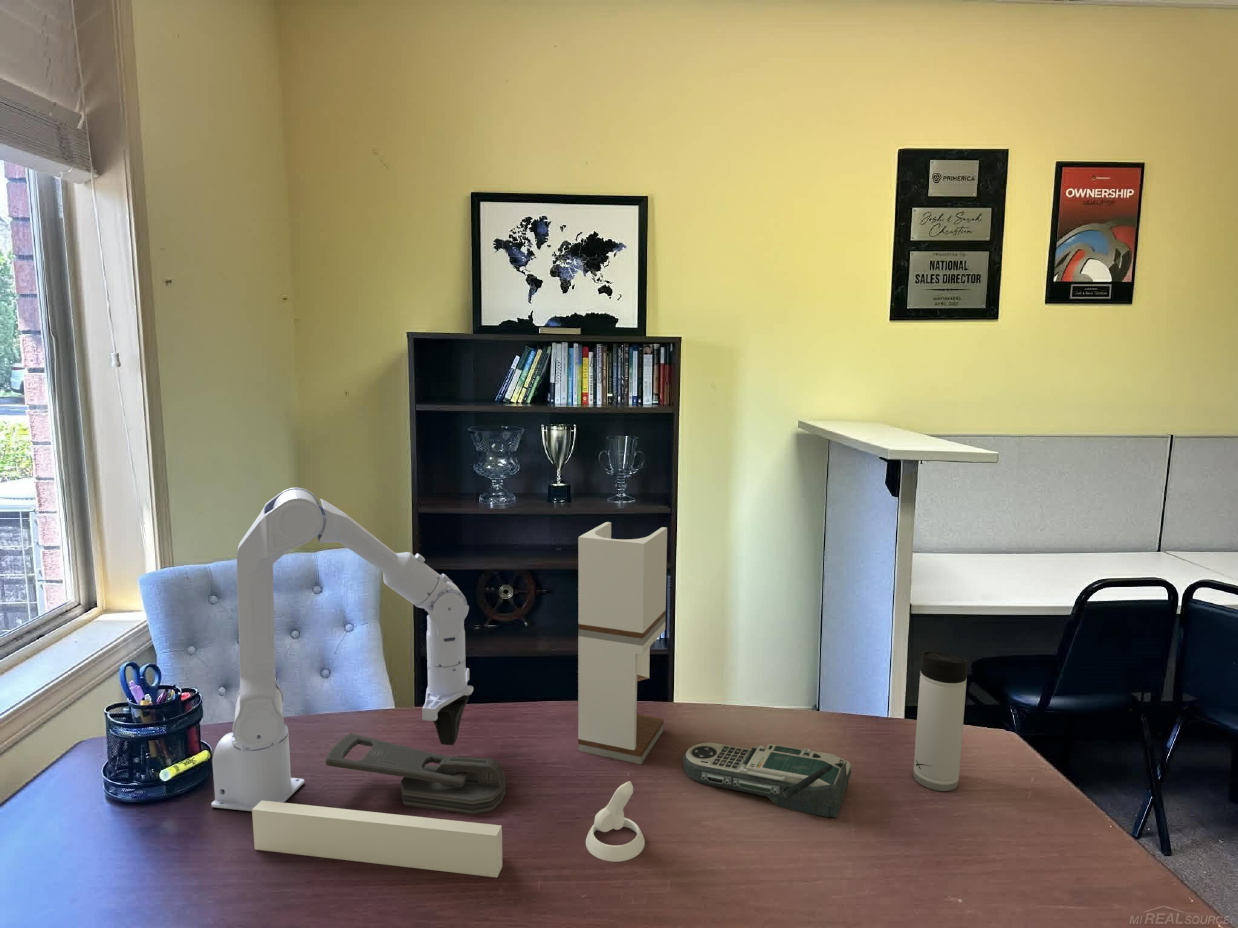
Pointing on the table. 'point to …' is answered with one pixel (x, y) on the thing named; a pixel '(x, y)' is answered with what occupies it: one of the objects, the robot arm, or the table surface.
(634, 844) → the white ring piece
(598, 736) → the white square tower
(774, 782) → the communication device
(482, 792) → the zipper pull
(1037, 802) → the table surface
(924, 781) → the travel mug
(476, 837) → the cream rectangular bar
